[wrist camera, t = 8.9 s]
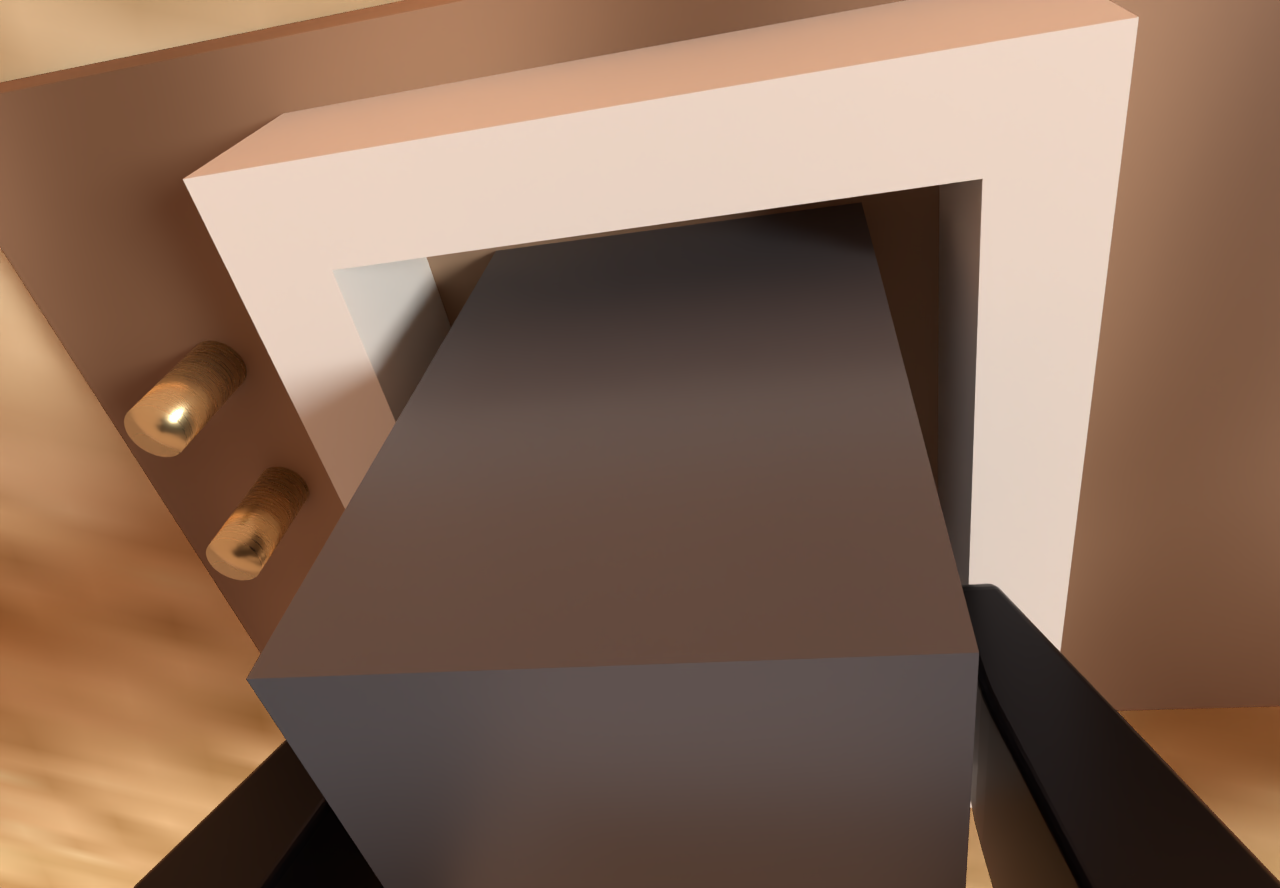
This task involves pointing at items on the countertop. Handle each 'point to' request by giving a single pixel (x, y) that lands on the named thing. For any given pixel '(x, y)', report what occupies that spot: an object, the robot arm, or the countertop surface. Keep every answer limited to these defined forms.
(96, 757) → the countertop surface
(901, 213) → the socket board
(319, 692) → the plug block
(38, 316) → the countertop surface
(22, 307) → the countertop surface
